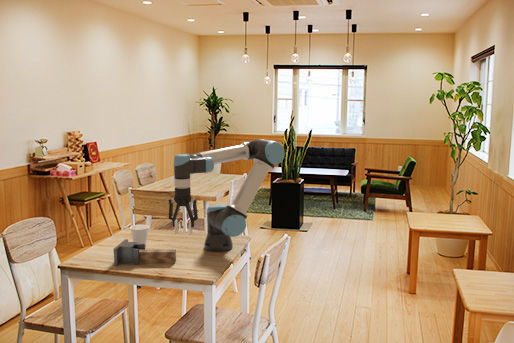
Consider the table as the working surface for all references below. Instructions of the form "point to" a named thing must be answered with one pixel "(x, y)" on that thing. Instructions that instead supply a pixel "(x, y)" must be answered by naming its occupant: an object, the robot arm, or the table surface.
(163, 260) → the slat
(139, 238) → the cup
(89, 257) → the table surface
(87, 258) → the table surface
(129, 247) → the endcap
